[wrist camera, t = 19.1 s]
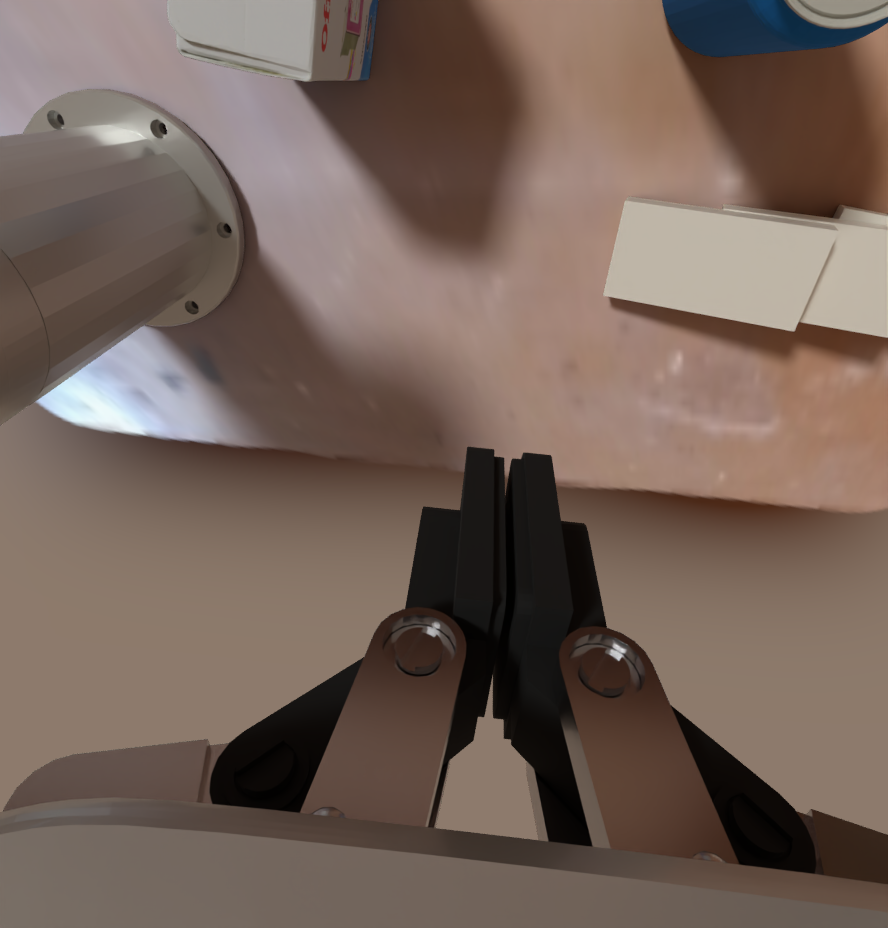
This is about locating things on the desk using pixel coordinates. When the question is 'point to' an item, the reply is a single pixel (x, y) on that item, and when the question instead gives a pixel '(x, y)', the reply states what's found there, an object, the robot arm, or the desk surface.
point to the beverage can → (771, 24)
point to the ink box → (279, 36)
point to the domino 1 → (717, 261)
